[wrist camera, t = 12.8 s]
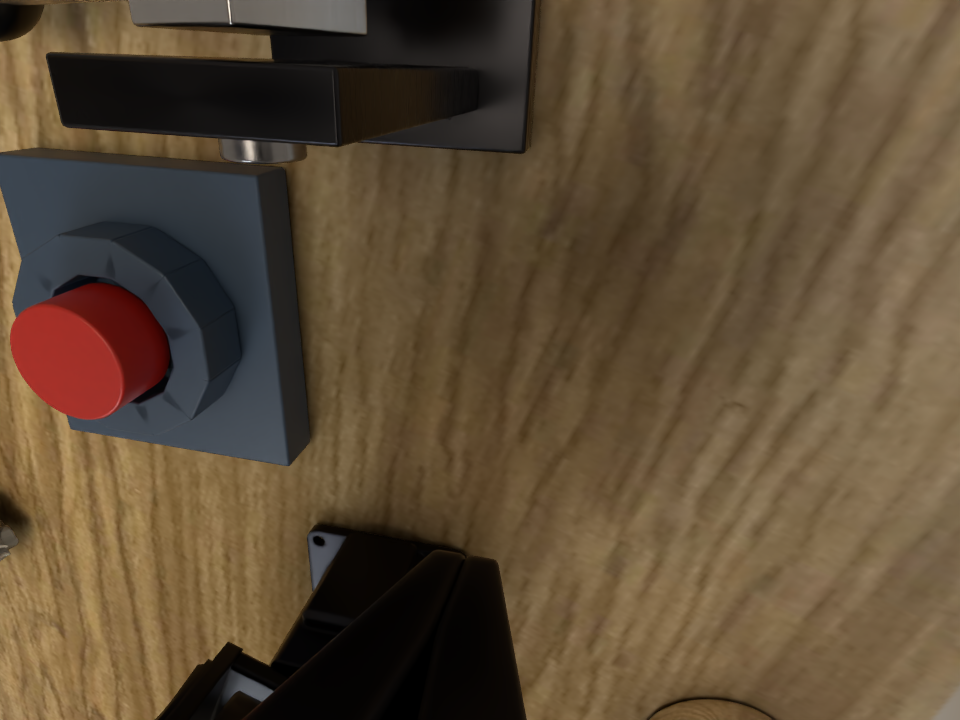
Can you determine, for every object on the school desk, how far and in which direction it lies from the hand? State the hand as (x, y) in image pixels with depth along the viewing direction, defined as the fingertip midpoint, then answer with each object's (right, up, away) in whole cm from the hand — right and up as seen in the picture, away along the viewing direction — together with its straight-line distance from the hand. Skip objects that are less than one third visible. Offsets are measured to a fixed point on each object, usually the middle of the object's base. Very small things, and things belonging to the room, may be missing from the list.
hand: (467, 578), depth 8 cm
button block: (-10, +5, +14) cm, 18 cm away
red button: (-11, +4, +11) cm, 16 cm away
